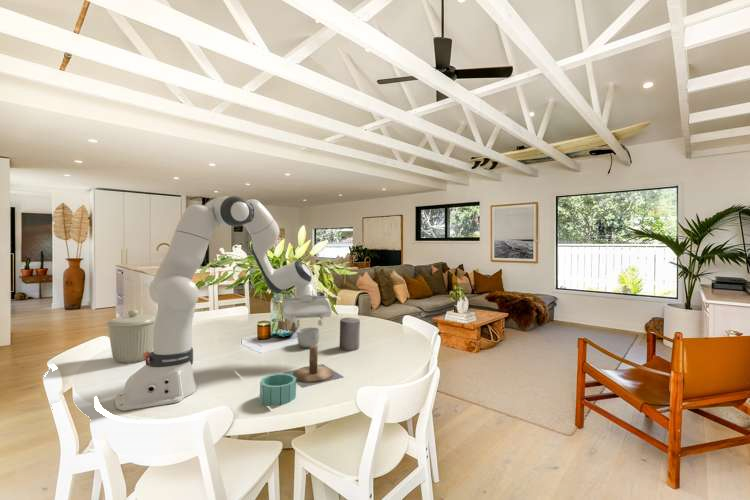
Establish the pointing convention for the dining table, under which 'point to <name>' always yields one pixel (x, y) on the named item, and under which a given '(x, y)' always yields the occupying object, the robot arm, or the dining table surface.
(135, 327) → the canister
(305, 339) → the teacup
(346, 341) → the pillar candle
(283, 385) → the bowl
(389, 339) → the dining table surface
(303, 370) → the lid
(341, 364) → the dining table surface
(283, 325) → the ornament
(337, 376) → the mat
